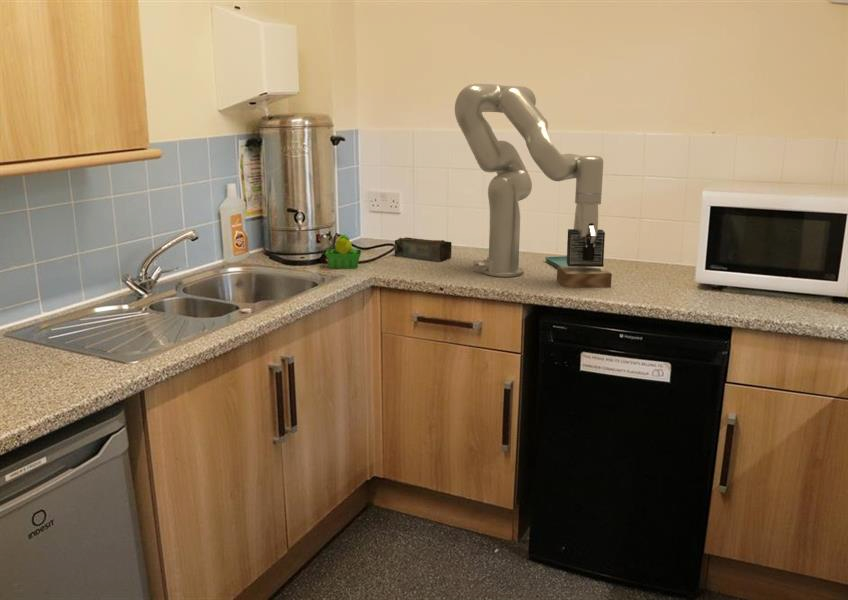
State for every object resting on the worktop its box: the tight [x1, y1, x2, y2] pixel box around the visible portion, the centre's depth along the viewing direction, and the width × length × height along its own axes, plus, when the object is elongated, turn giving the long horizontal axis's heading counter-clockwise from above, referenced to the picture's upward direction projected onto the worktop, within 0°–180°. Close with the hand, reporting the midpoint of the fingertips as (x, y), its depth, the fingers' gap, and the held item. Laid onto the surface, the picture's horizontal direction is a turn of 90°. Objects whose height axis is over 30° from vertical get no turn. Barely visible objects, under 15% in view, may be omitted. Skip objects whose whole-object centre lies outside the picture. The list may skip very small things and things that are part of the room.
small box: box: [566, 228, 606, 268], centre depth 237 cm, size 11×6×10 cm, turn 85°
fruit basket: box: [325, 233, 362, 269], centre depth 259 cm, size 11×9×11 cm
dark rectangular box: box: [394, 236, 453, 263], centre depth 275 cm, size 8×19×7 cm, turn 59°
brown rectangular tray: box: [556, 266, 613, 288], centre depth 239 cm, size 14×10×4 cm
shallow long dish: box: [544, 255, 568, 269], centre depth 259 cm, size 26×9×2 cm, turn 10°
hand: (584, 257), depth 238 cm, fingers closed on small box, 6 cm apart
